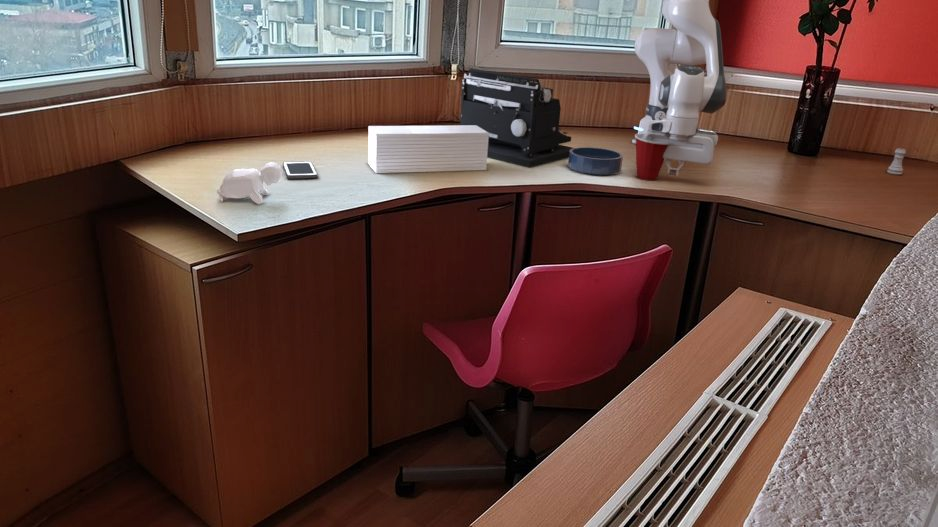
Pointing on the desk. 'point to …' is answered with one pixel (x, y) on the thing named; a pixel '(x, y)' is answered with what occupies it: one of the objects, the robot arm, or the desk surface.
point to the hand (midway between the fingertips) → (672, 174)
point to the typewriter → (514, 117)
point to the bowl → (595, 160)
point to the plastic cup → (649, 157)
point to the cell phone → (299, 169)
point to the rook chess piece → (897, 163)
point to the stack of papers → (427, 148)
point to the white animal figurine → (250, 182)
